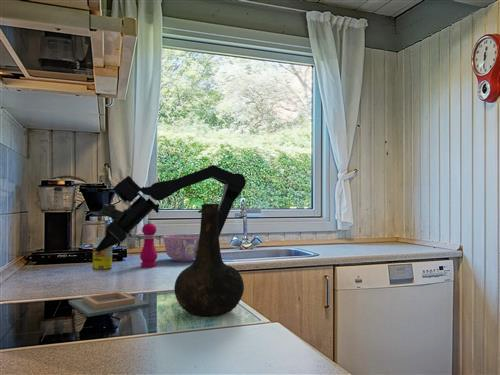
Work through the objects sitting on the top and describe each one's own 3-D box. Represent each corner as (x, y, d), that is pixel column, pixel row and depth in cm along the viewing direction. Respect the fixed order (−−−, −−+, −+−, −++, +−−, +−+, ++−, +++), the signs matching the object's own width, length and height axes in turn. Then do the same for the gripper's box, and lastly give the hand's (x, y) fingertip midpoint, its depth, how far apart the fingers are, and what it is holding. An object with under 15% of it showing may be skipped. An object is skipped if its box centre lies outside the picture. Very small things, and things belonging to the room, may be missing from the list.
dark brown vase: (218, 328, 90) (220, 203, 91) (158, 316, 98) (160, 202, 99) (256, 309, 105) (257, 203, 106) (201, 300, 114) (202, 202, 115)
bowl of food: (194, 264, 177) (194, 238, 178) (154, 262, 183) (154, 237, 183) (210, 258, 197) (211, 235, 197) (173, 256, 202) (174, 233, 202)
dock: (125, 295, 119) (125, 288, 119) (149, 306, 107) (149, 298, 107) (68, 303, 109) (68, 296, 109) (88, 316, 97) (88, 308, 97)
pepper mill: (152, 268, 167) (153, 220, 167) (136, 267, 168) (137, 220, 169) (159, 265, 174) (160, 219, 175) (144, 264, 175) (145, 219, 176)
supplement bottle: (88, 272, 120) (88, 238, 121) (103, 269, 125) (103, 236, 125) (101, 273, 118) (101, 239, 118) (115, 270, 122) (116, 237, 123)
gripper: (118, 195, 132) (82, 229, 129) (114, 194, 114) (72, 234, 111) (143, 218, 134) (108, 252, 131) (142, 221, 116) (102, 261, 113)
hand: (97, 249), depth 121 cm, fingers closed on supplement bottle, 5 cm apart
